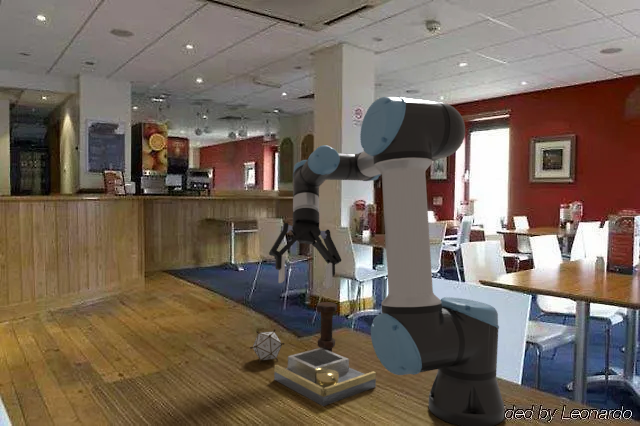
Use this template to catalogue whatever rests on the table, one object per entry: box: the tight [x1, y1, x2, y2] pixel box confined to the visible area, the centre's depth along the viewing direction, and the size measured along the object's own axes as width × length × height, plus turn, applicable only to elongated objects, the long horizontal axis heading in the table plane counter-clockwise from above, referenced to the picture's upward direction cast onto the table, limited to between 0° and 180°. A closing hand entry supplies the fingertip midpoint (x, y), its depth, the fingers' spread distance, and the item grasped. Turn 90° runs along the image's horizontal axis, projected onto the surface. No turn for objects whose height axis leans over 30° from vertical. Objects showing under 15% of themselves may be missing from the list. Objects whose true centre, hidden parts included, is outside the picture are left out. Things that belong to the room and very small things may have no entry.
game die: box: [249, 328, 286, 364], centre depth 129 cm, size 9×8×10 cm
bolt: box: [316, 301, 338, 352], centre depth 130 cm, size 6×5×15 cm
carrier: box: [273, 347, 377, 407], centre depth 114 cm, size 18×16×5 cm
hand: (305, 284), depth 128 cm, fingers open, 13 cm apart
